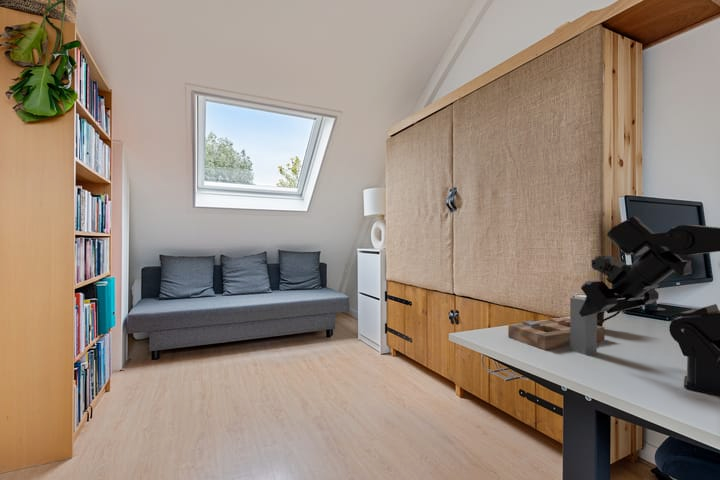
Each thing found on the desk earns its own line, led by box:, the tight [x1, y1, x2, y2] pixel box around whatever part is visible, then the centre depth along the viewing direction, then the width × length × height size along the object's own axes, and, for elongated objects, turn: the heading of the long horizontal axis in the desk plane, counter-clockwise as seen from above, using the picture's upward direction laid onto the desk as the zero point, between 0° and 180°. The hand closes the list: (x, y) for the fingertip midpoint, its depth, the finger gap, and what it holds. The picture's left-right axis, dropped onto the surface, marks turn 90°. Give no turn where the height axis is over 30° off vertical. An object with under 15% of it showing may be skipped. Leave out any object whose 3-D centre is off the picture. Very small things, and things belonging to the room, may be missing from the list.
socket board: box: [507, 317, 605, 351], centre depth 100 cm, size 12×22×4 cm, turn 112°
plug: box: [569, 295, 598, 356], centre depth 89 cm, size 4×4×14 cm
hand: (594, 313), depth 86 cm, fingers open, 9 cm apart
